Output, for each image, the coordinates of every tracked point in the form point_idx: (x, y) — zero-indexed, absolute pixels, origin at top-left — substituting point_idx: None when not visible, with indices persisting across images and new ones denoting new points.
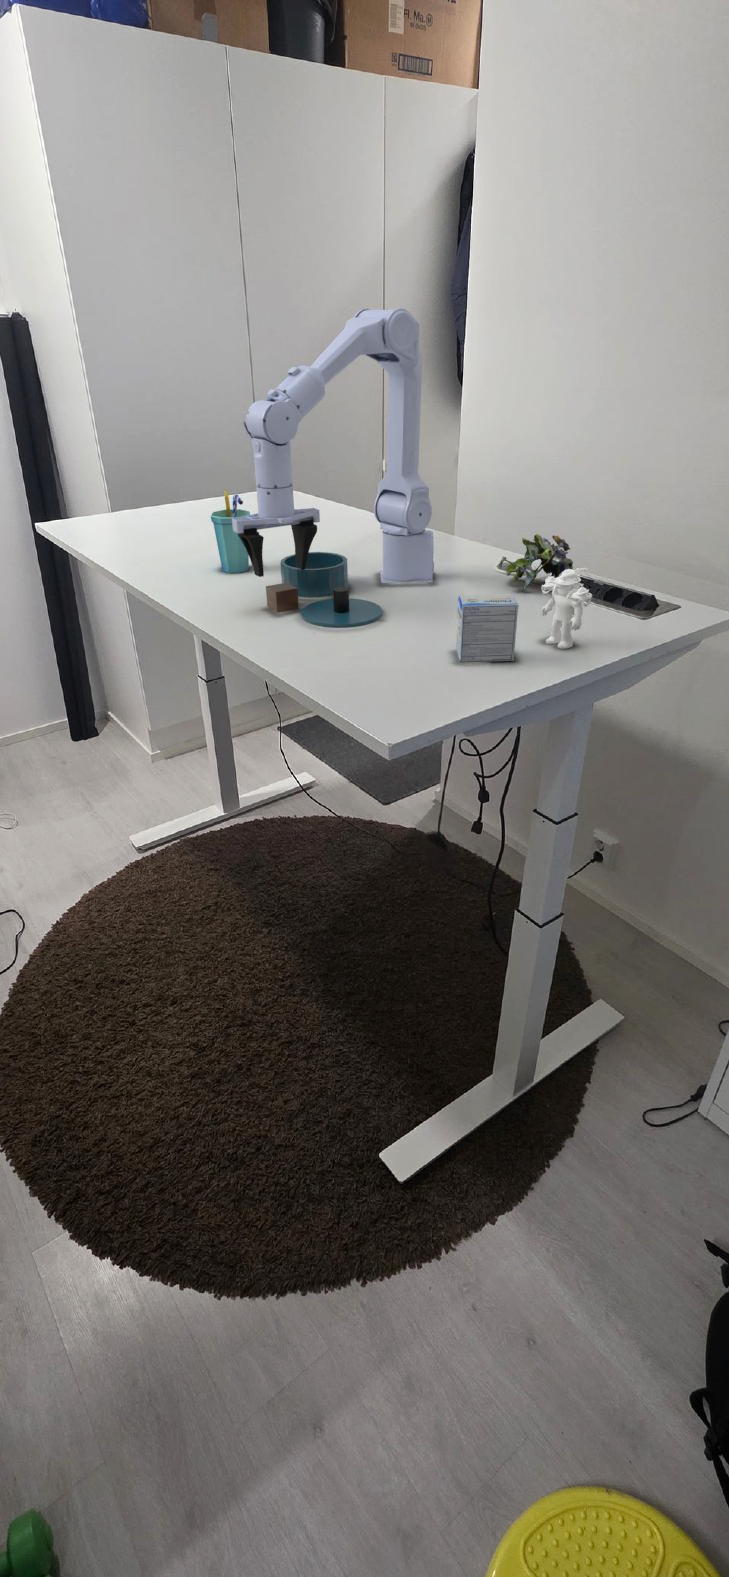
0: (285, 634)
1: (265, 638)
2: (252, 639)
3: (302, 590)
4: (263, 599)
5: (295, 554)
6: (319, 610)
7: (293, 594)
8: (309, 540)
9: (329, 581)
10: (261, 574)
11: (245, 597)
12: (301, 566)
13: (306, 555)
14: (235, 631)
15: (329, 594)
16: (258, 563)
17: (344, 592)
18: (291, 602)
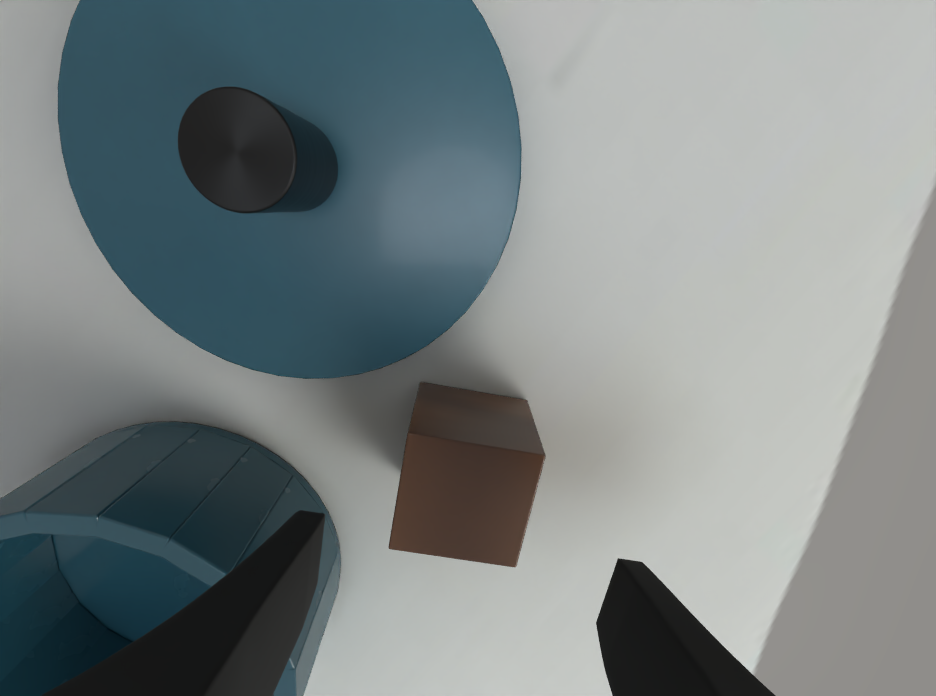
0: (671, 165)
1: (770, 188)
2: (816, 221)
3: None
4: (437, 596)
5: (281, 673)
6: (386, 254)
7: (438, 422)
8: (125, 681)
9: (148, 468)
10: (639, 569)
11: (475, 653)
12: (316, 534)
13: (247, 570)
14: (784, 361)
15: (192, 435)
16: (709, 634)
17: (245, 91)
18: (453, 408)
